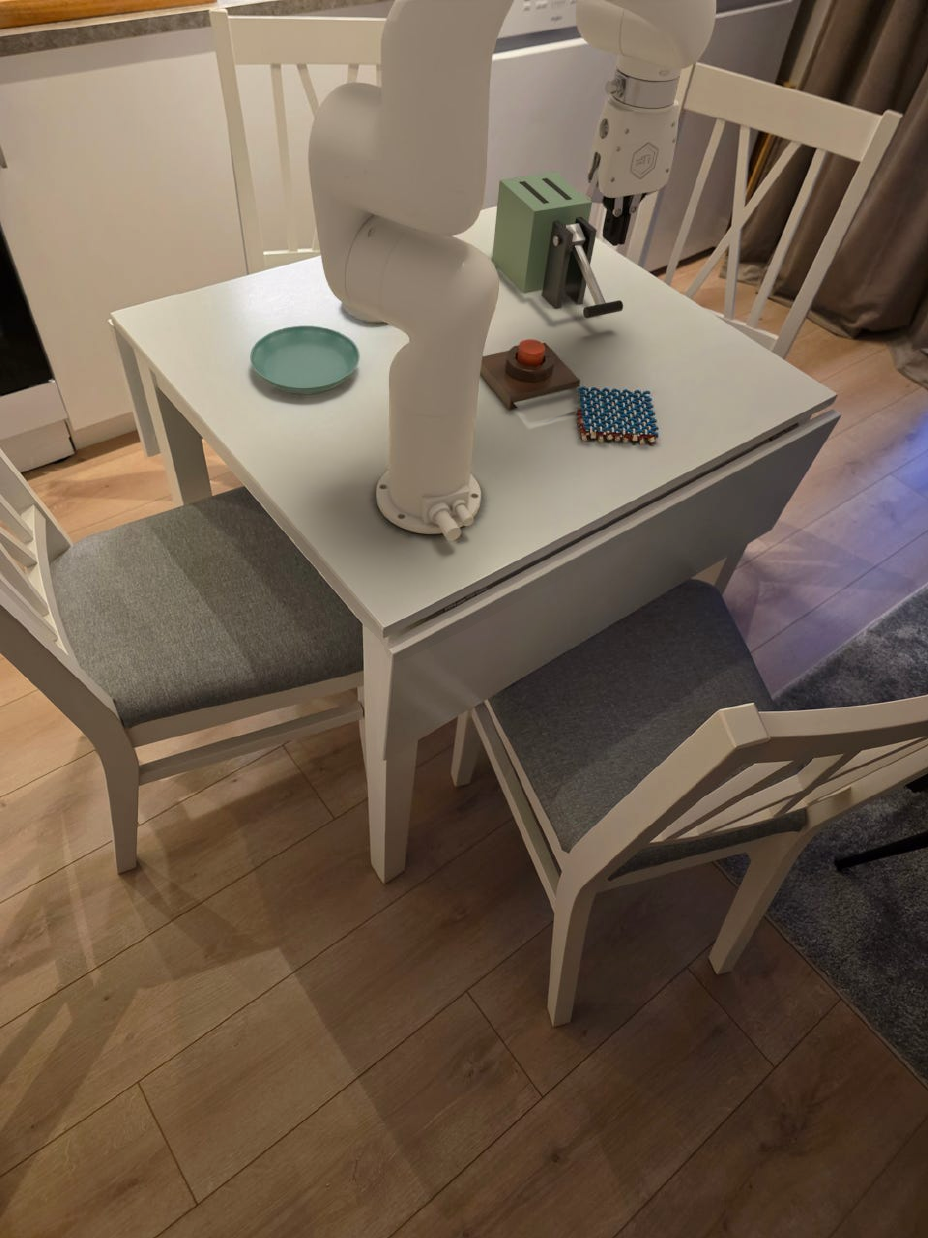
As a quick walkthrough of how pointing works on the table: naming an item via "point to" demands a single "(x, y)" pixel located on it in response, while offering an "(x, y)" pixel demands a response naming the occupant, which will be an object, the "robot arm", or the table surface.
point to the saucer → (305, 358)
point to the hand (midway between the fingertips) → (613, 240)
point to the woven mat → (616, 415)
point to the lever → (590, 278)
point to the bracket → (566, 264)
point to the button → (531, 352)
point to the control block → (525, 376)
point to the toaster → (532, 224)
